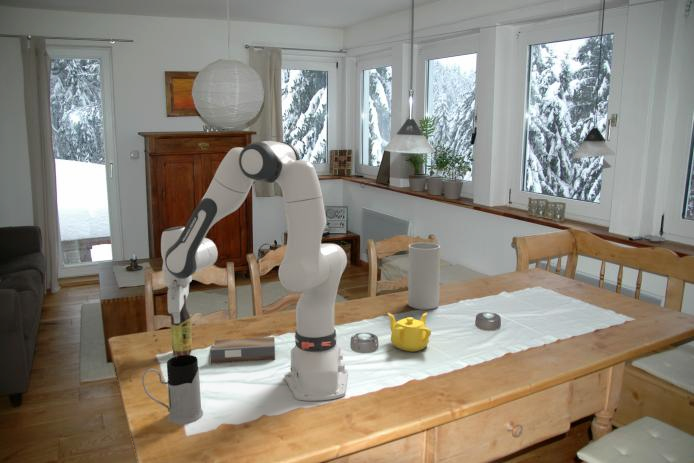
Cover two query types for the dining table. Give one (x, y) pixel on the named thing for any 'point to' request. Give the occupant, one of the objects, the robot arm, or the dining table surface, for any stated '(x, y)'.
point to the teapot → (409, 333)
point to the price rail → (242, 352)
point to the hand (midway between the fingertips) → (179, 317)
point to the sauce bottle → (181, 333)
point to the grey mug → (182, 389)
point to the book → (243, 343)
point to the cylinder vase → (423, 275)
